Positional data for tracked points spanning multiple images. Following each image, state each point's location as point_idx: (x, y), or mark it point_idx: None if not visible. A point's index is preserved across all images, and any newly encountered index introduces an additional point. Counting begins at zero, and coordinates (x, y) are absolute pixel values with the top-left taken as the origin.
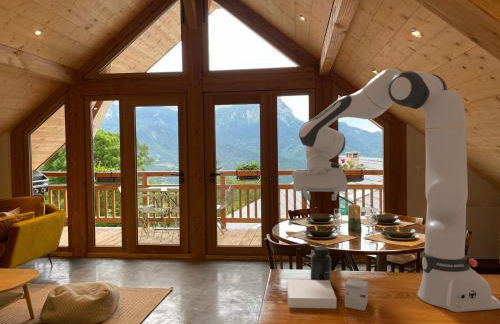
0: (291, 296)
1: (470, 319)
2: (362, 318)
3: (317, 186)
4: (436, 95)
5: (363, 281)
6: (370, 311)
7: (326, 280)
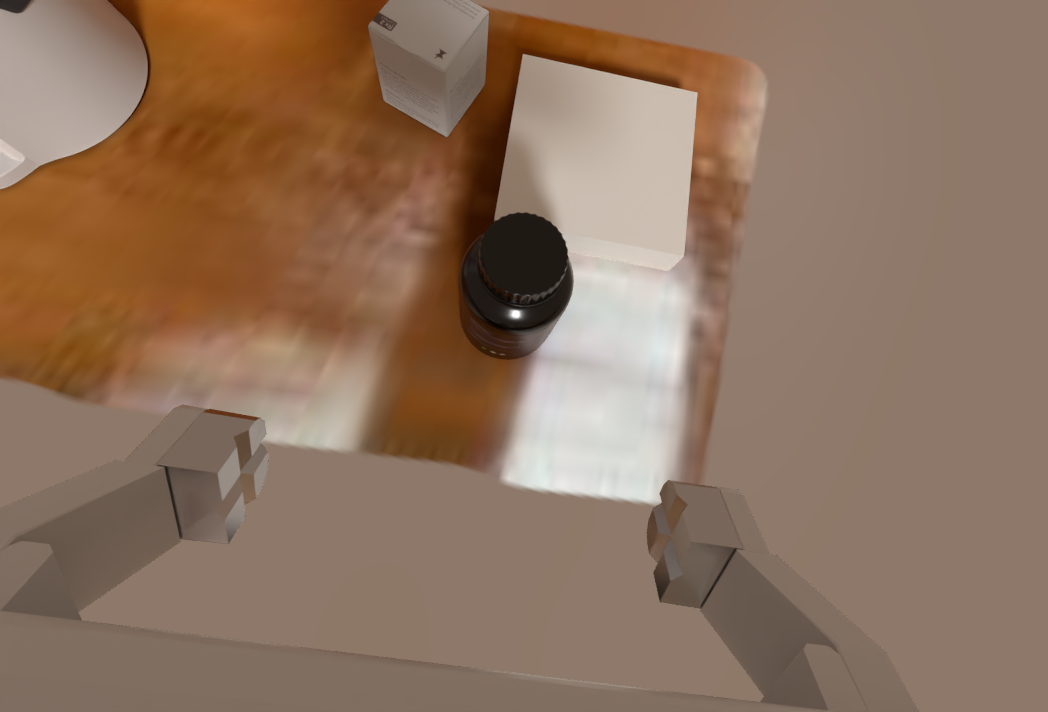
0: (686, 101)
1: None
2: None
3: (546, 678)
4: None
5: (401, 10)
6: None
7: None
